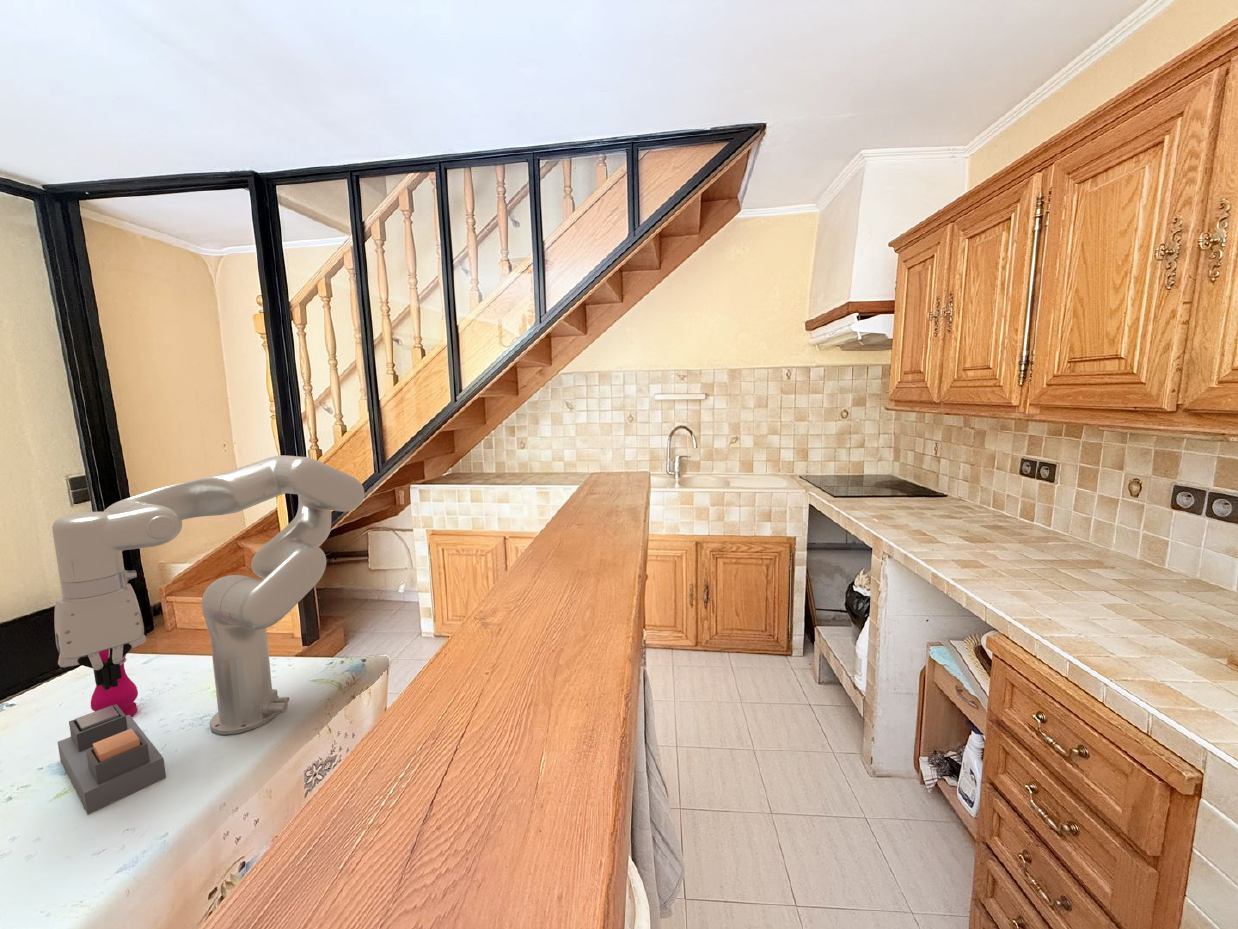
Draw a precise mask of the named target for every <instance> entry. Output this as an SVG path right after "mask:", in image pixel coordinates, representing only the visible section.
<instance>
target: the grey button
mask: <svg viewBox="0 0 1238 929" xmlns="http://www.w3.org/2000/svg"><path fill="white" fill-rule="evenodd" d="M118 717H119V714H118V713H117V711H116V710H115V709H114V707H113V706H109V707H106V708H103V709H101V710H98V711H92V712H89V713H87V714H85V715H82V716H78V717H76V718H75V719H76V725H77V728H78V730H79V731H80V732H81V731H84V730H87V729H89V728H92V727H95V726H97V725H100V724H102V723H105V722H108V721H110V720H113V719H116V718H118Z"/></svg>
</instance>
